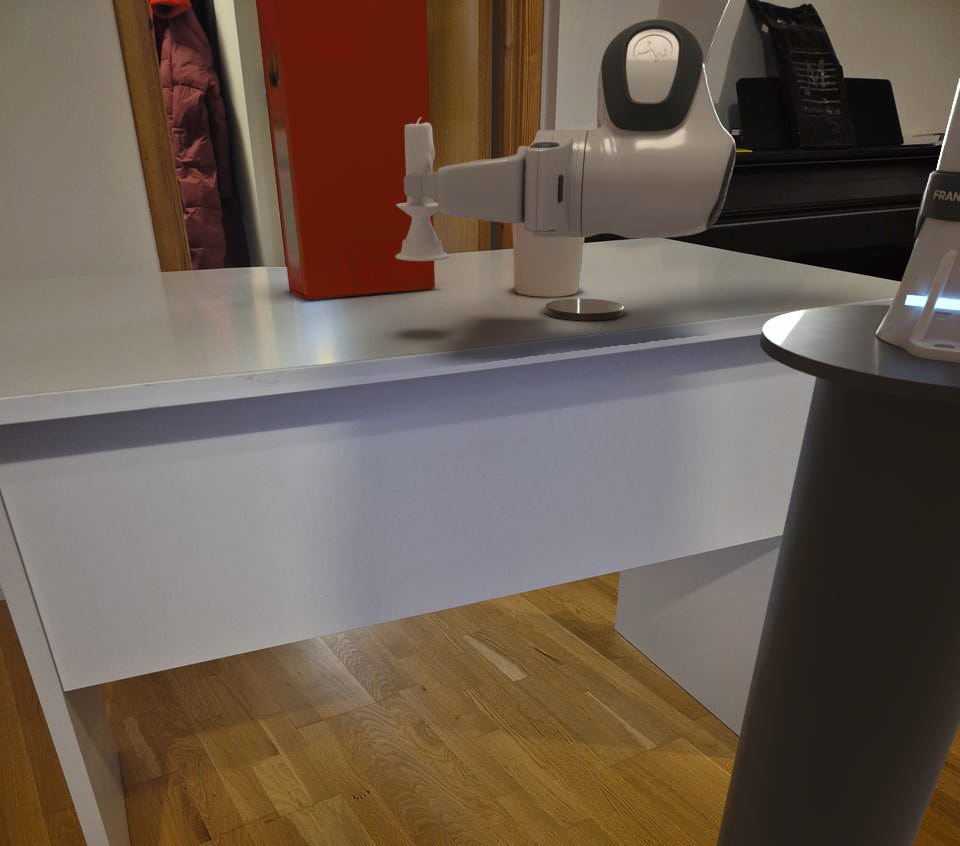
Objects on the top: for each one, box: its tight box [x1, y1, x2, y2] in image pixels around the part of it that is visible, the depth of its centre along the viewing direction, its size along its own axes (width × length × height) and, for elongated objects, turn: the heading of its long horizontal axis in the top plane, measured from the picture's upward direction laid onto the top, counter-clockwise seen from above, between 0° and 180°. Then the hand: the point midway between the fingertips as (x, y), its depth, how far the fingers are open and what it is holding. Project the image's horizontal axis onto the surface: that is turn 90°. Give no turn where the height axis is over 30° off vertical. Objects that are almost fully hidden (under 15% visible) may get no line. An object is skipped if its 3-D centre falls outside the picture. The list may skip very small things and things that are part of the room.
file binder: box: [255, 0, 436, 301], centre depth 101 cm, size 8×17×32 cm, turn 118°
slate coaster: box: [544, 298, 624, 322], centre depth 97 cm, size 9×9×1 cm
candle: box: [396, 117, 450, 262], centre depth 80 cm, size 5×5×12 cm
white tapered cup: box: [511, 223, 586, 298], centre depth 106 cm, size 10×10×12 cm
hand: (410, 184), depth 80 cm, fingers closed on candle, 2 cm apart
